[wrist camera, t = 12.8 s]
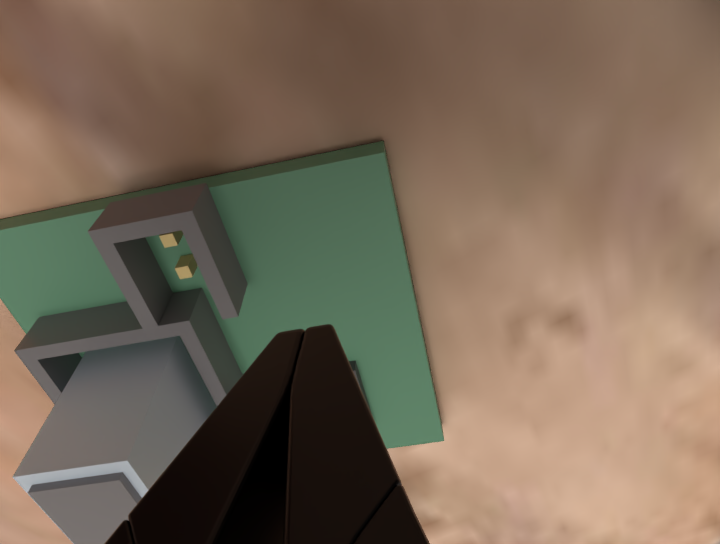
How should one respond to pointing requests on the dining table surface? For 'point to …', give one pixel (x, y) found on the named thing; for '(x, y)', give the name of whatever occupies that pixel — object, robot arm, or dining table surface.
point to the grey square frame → (128, 341)
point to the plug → (113, 435)
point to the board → (248, 268)
